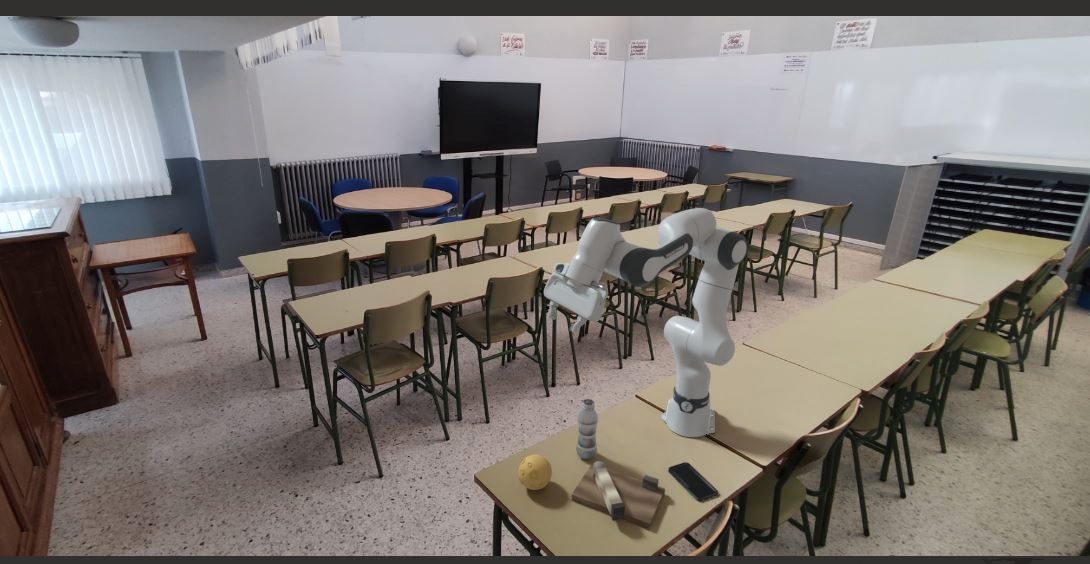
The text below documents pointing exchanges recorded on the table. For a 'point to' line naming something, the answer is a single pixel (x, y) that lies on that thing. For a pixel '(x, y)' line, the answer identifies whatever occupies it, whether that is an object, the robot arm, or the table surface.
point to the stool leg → (608, 492)
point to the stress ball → (534, 472)
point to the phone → (693, 481)
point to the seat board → (623, 496)
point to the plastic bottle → (587, 430)
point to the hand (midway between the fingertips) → (561, 324)
